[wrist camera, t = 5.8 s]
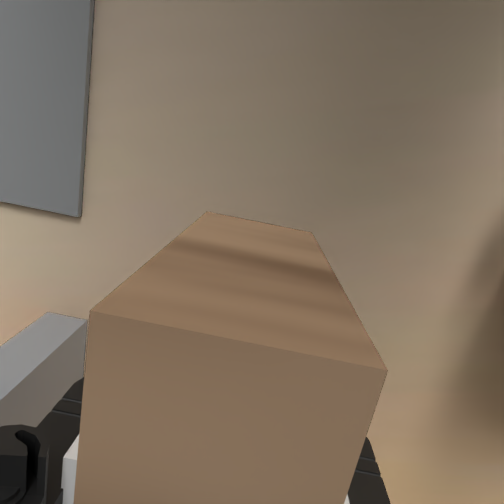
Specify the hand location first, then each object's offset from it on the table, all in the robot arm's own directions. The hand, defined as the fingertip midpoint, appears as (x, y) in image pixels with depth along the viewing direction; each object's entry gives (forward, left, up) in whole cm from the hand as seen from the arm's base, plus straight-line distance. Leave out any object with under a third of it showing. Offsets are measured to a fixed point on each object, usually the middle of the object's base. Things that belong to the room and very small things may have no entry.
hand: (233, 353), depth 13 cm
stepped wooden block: (+4, 0, 0) cm, 4 cm away
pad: (-8, -14, -9) cm, 18 cm away
